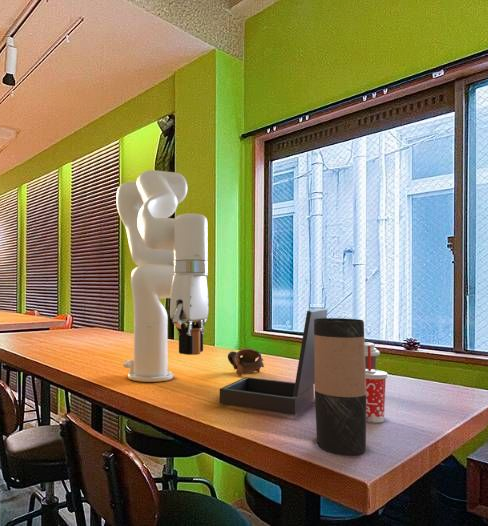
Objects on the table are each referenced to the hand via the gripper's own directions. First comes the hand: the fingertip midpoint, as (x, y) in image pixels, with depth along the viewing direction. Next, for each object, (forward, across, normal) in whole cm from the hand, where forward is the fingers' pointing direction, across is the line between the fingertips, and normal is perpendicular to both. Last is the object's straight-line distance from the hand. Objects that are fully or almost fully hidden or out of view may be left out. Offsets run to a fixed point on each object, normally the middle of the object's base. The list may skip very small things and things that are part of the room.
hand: (191, 351), depth 97 cm
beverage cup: (+11, -8, +35) cm, 37 cm away
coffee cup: (+11, -29, +30) cm, 43 cm away
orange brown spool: (0, 0, 0) cm, 0 cm away
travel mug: (+11, +11, +33) cm, 36 cm away
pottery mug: (+11, -37, -2) cm, 39 cm away
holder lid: (-1, -7, +24) cm, 25 cm away
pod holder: (+11, -7, +15) cm, 20 cm away
